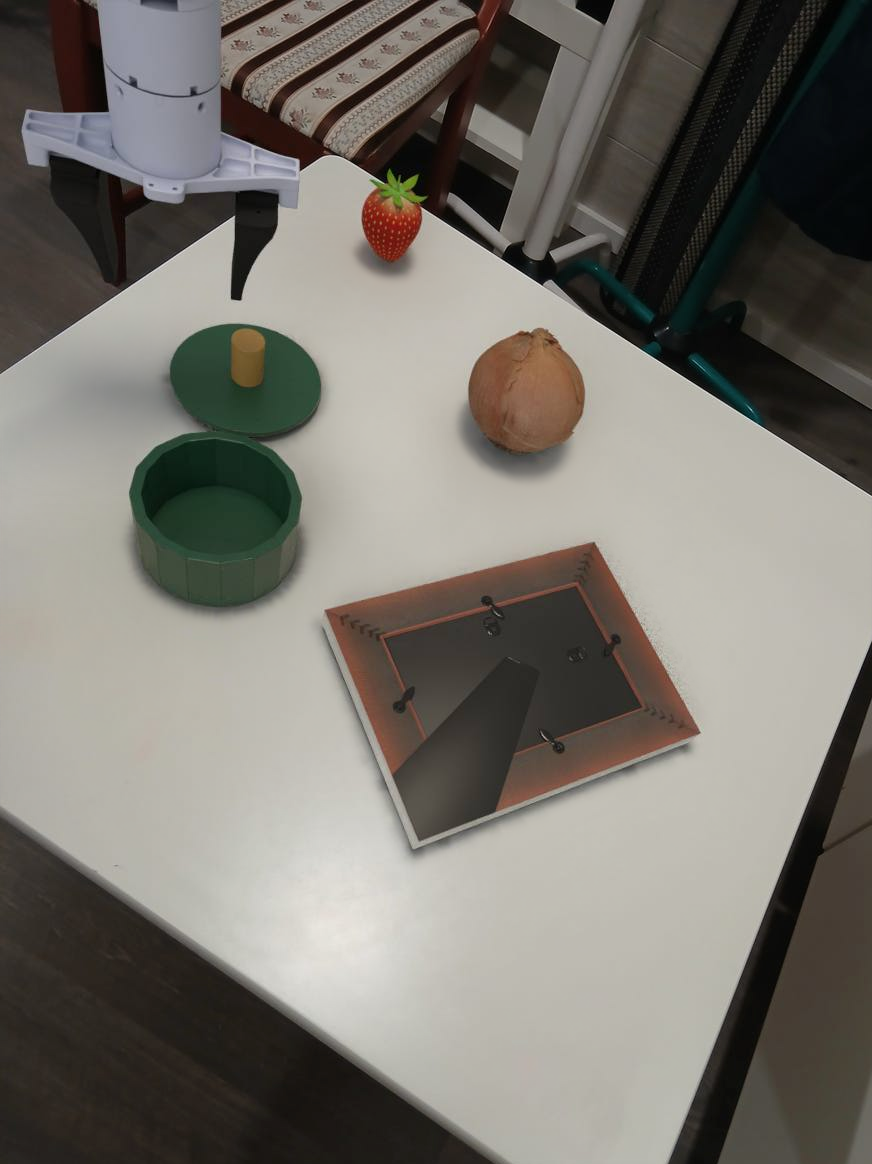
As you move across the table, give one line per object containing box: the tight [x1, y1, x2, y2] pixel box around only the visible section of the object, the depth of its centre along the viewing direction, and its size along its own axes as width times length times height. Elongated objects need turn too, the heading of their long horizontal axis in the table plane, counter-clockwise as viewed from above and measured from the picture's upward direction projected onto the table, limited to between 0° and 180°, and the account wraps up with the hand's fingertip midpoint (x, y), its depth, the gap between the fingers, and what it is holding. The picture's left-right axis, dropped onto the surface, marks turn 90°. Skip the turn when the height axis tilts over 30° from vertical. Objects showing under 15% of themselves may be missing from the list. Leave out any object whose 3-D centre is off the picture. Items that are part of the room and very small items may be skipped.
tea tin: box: [128, 430, 303, 608], centre depth 56 cm, size 10×10×5 cm
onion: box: [467, 327, 586, 456], centre depth 67 cm, size 10×9×10 cm
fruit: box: [361, 168, 429, 263], centre depth 73 cm, size 5×5×8 cm
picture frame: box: [321, 541, 701, 850], centre depth 58 cm, size 16×2×22 cm
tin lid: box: [169, 323, 322, 438], centre depth 64 cm, size 11×11×5 cm
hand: (175, 281), depth 55 cm, fingers open, 7 cm apart
